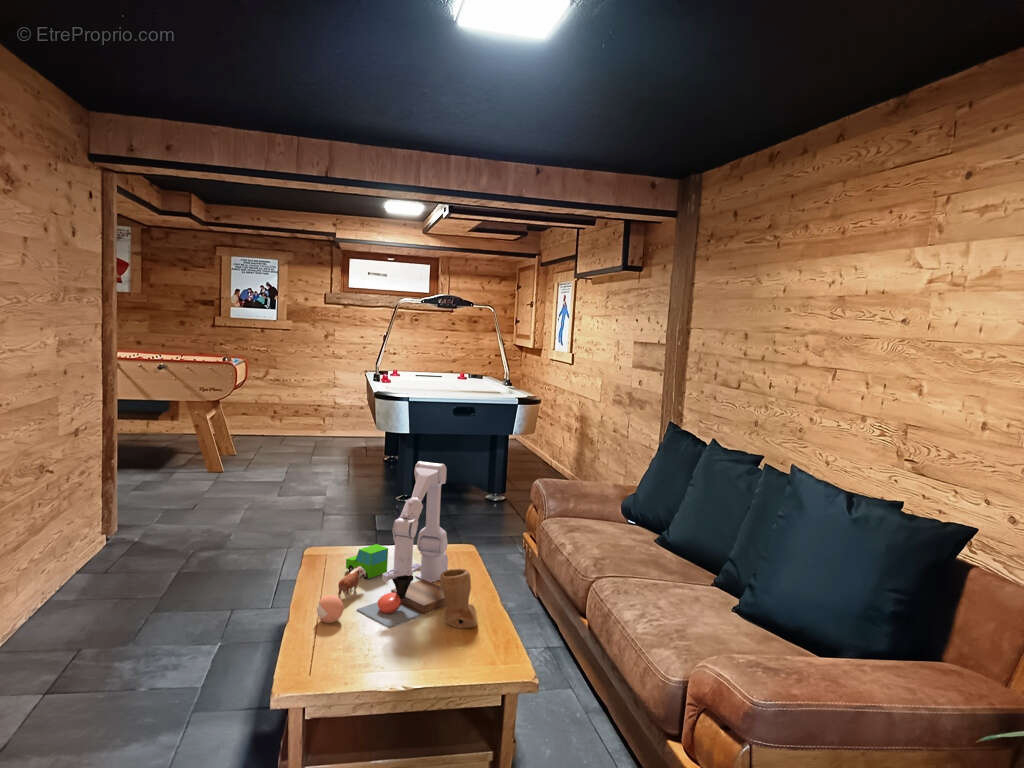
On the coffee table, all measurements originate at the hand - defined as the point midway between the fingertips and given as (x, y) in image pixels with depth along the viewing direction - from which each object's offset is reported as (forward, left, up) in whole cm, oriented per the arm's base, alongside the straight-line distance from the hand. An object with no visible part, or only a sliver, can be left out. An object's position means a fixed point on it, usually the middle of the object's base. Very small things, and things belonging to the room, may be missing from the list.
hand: (401, 597), depth 205 cm
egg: (+22, -7, -4) cm, 23 cm away
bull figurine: (+6, -19, -4) cm, 20 cm away
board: (-9, 0, -4) cm, 10 cm away
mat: (+5, 0, -4) cm, 6 cm away
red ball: (+4, -1, -2) cm, 4 cm away
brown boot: (-8, +17, -4) cm, 19 cm away
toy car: (-9, -31, -4) cm, 33 cm away
